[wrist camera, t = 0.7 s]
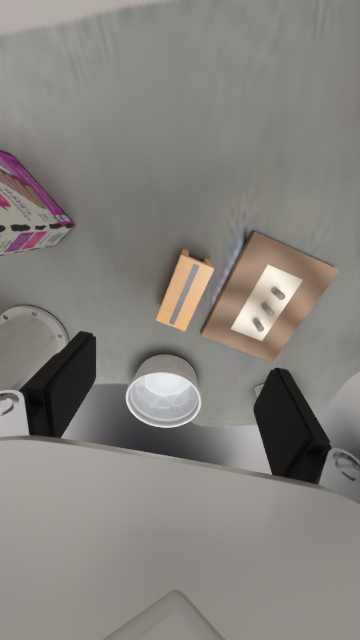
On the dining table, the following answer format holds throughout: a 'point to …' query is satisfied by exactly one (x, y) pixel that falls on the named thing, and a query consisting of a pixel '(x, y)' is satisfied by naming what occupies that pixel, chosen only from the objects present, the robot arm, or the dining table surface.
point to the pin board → (266, 297)
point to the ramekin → (164, 392)
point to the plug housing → (184, 290)
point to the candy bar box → (27, 211)
